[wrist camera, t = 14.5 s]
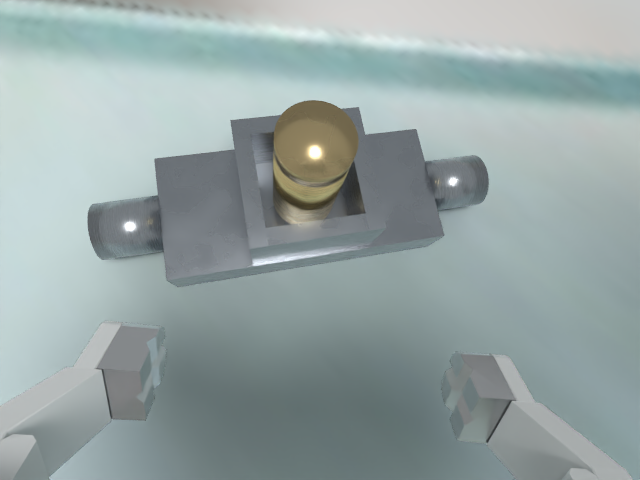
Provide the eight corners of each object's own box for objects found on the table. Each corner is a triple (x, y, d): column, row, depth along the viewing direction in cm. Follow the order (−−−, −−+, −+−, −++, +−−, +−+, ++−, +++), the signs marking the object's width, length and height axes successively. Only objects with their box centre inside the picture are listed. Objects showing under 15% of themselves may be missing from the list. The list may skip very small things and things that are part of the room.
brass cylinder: (327, 165, 27) (349, 96, 20) (338, 221, 26) (366, 172, 19) (268, 173, 27) (267, 104, 19) (277, 230, 26) (281, 183, 18)
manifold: (449, 142, 32) (496, 90, 26) (476, 238, 31) (534, 208, 24) (106, 184, 28) (55, 134, 22) (115, 297, 27) (62, 281, 20)
